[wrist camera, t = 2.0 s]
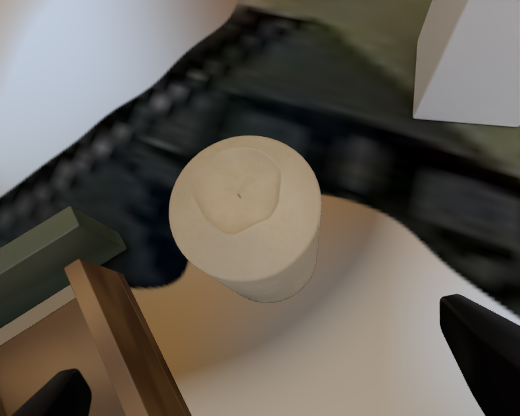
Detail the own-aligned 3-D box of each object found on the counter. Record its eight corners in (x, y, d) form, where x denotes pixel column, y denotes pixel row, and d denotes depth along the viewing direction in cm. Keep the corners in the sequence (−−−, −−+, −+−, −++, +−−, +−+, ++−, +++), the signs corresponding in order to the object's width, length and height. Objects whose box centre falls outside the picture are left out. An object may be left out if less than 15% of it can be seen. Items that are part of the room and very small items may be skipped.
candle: (306, 314, 20) (302, 293, 11) (209, 291, 21) (129, 252, 12) (325, 218, 22) (337, 125, 12) (234, 200, 23) (182, 103, 13)
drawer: (-39, 308, 22) (-130, 300, 17) (111, 216, 22) (61, 185, 18) (39, 571, 17) (-58, 655, 12) (224, 443, 18) (195, 479, 13)
